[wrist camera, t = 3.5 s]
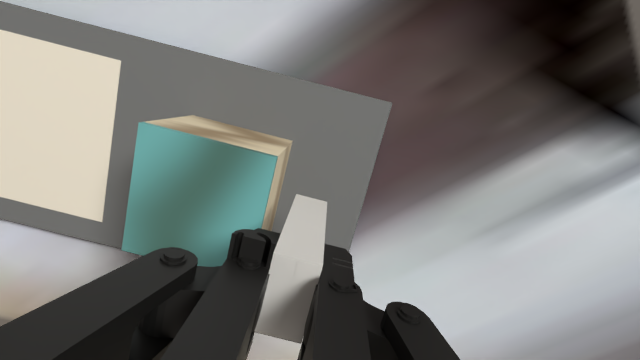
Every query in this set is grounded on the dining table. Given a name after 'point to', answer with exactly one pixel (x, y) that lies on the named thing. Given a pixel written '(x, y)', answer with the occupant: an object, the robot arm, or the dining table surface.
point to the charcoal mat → (155, 104)
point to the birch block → (201, 186)
